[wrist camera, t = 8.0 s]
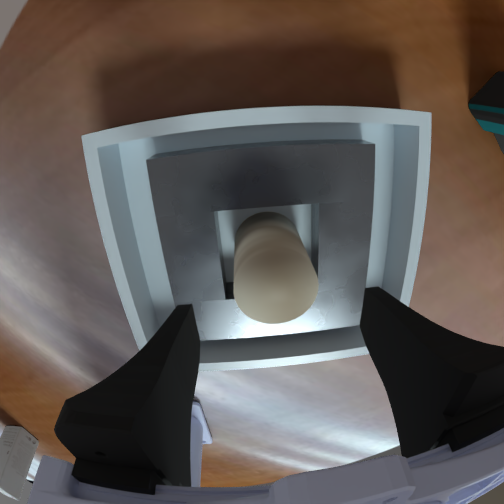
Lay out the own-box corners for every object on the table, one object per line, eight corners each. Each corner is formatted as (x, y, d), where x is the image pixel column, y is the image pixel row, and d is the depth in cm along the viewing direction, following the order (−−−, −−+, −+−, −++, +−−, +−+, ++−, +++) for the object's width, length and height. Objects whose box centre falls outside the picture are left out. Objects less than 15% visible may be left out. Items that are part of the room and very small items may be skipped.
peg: (239, 274, 21) (240, 328, 16) (230, 216, 19) (227, 258, 14) (300, 266, 21) (318, 317, 16) (296, 207, 19) (317, 246, 14)
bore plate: (187, 322, 22) (184, 341, 20) (155, 153, 17) (145, 159, 15) (351, 308, 22) (360, 325, 21) (362, 139, 17) (375, 143, 15)
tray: (157, 339, 24) (147, 371, 20) (107, 128, 17) (81, 135, 13) (381, 318, 24) (397, 348, 21) (400, 108, 17) (431, 112, 13)
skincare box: (21, 425, 32) (-4, 486, 21) (41, 441, 34) (20, 501, 23) (4, 425, 33) (-19, 479, 22) (22, 441, 35) (2, 495, 24)
